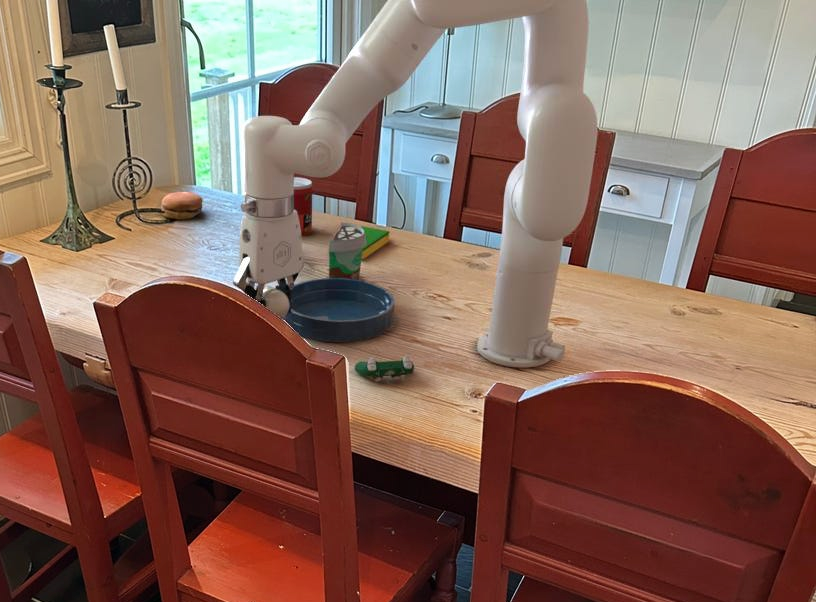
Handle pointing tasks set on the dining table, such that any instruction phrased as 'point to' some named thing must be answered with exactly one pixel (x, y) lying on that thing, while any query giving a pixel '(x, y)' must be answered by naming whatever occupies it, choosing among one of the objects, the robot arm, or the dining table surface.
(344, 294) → the basin
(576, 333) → the dining table surface
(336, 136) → the robot arm
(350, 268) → the food container
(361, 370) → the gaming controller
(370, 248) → the dish sponge
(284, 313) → the egg
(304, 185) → the canned food
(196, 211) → the burger
